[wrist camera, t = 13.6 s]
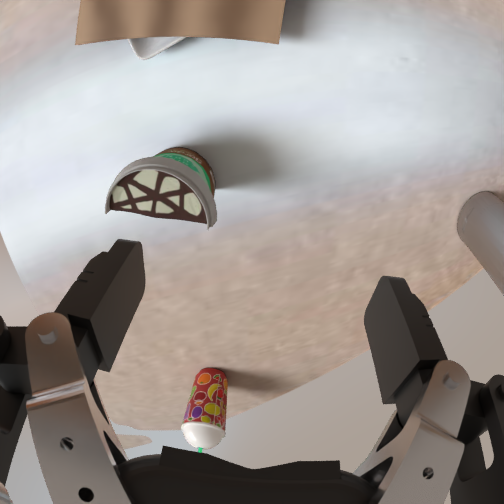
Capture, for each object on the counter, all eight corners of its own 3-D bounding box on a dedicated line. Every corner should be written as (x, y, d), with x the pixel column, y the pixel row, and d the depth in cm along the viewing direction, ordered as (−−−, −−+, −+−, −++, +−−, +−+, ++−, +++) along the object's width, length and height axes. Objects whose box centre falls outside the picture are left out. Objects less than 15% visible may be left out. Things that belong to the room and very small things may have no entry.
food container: (233, 144, 35) (220, 171, 27) (226, 191, 38) (213, 230, 30) (136, 134, 34) (97, 158, 26) (135, 178, 38) (100, 213, 30)
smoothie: (223, 388, 64) (212, 470, 48) (188, 377, 62) (170, 459, 46) (238, 371, 60) (228, 461, 43) (200, 359, 58) (181, 450, 42)
